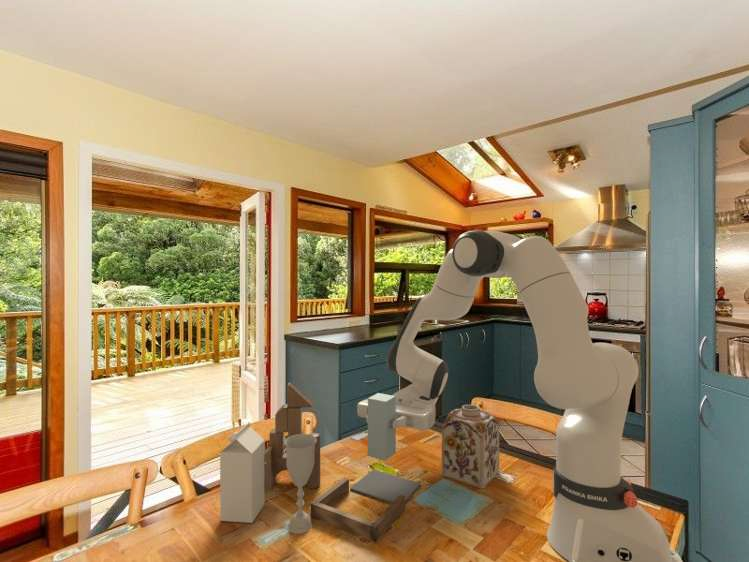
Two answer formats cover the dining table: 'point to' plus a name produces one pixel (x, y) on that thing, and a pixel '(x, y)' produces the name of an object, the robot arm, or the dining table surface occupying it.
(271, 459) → the wooden toy
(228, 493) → the milk carton
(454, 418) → the decorative jar
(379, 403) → the block
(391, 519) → the wooden rectangular frame
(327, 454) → the dining table surface
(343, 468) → the dining table surface
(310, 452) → the chalice
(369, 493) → the dark grey flat plate
